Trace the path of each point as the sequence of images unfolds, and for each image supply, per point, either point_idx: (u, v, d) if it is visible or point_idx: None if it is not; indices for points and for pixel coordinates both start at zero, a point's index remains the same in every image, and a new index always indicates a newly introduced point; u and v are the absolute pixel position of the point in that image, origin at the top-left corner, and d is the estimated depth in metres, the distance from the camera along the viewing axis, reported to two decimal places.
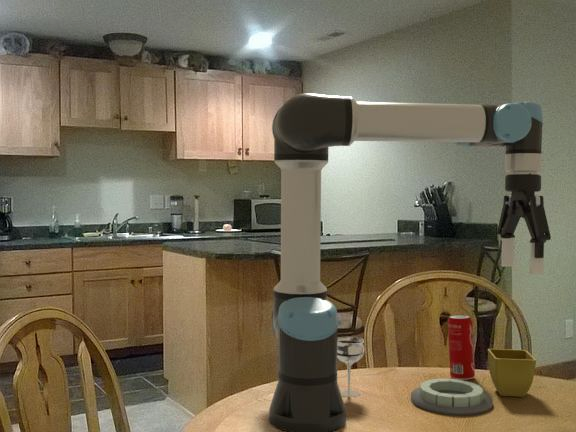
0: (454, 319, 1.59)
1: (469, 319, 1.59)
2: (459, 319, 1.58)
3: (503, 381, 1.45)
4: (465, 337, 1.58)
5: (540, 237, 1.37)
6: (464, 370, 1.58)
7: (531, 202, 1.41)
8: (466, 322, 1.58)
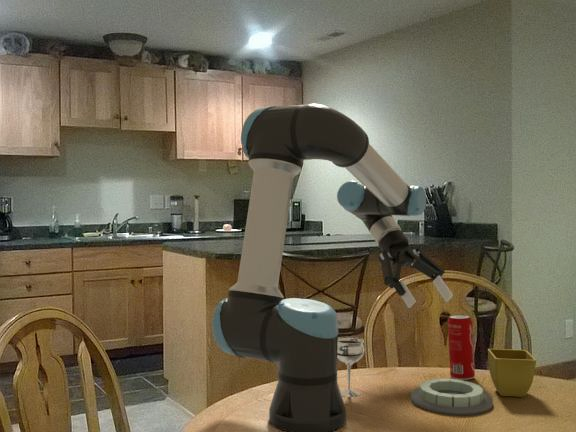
0: (454, 319, 1.59)
1: (469, 319, 1.59)
2: (459, 319, 1.58)
3: (503, 381, 1.45)
4: (465, 337, 1.58)
5: None
6: (464, 370, 1.58)
7: (420, 251, 1.79)
8: (466, 322, 1.58)
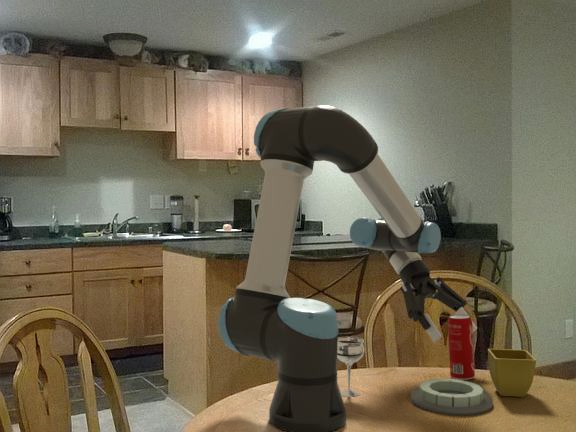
0: (454, 319, 1.59)
1: (469, 319, 1.59)
2: (459, 319, 1.58)
3: (503, 381, 1.45)
4: (465, 337, 1.58)
5: None
6: (464, 370, 1.58)
7: (441, 281, 1.74)
8: (466, 322, 1.58)
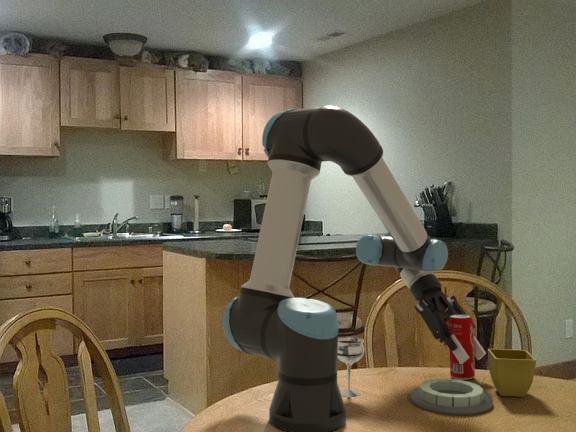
0: (455, 318, 1.59)
1: (470, 319, 1.59)
2: (460, 318, 1.58)
3: (503, 381, 1.45)
4: (465, 336, 1.58)
5: None
6: (464, 370, 1.58)
7: (455, 300, 1.69)
8: (467, 322, 1.58)
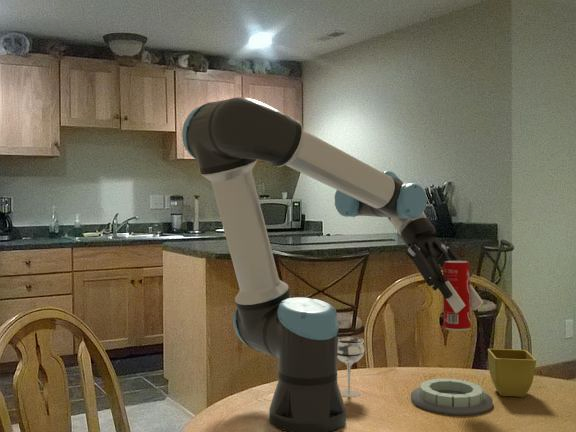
0: (450, 263, 1.44)
1: (467, 264, 1.44)
2: (456, 263, 1.43)
3: (503, 381, 1.45)
4: (461, 283, 1.43)
5: None
6: (460, 320, 1.43)
7: (450, 247, 1.54)
8: (463, 267, 1.43)
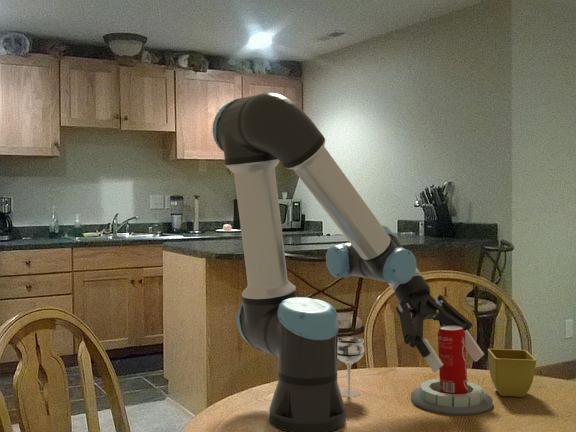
0: (445, 331, 1.41)
1: (462, 331, 1.42)
2: (450, 331, 1.41)
3: (503, 381, 1.45)
4: (457, 351, 1.40)
5: None
6: (456, 388, 1.41)
7: (443, 299, 1.52)
8: (458, 334, 1.41)
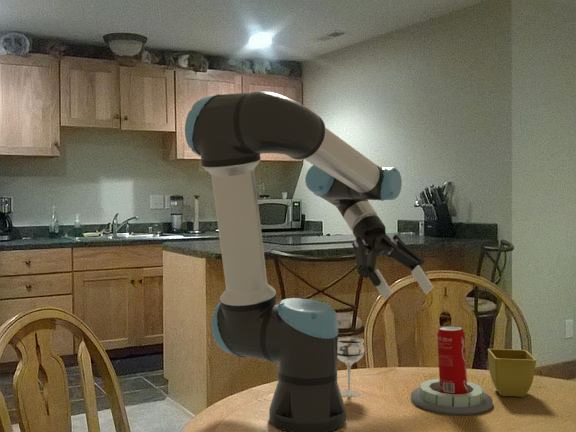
0: (444, 331, 1.41)
1: (461, 331, 1.41)
2: (450, 331, 1.41)
3: (503, 381, 1.45)
4: (456, 351, 1.40)
5: None
6: (456, 389, 1.41)
7: (398, 239, 1.64)
8: (458, 335, 1.40)
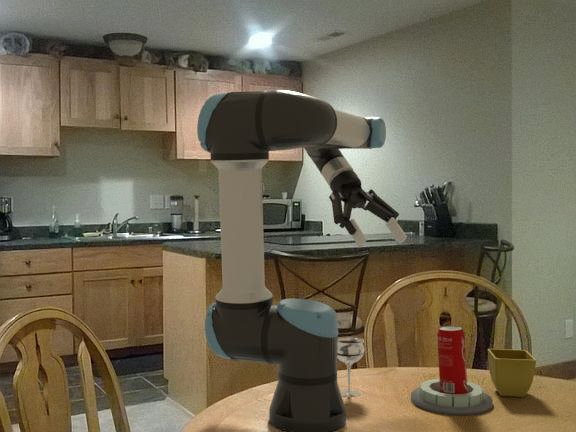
0: (444, 331, 1.41)
1: (461, 331, 1.41)
2: (450, 331, 1.41)
3: (503, 381, 1.45)
4: (456, 351, 1.40)
5: None
6: (456, 389, 1.41)
7: (374, 193, 1.71)
8: (458, 335, 1.41)
